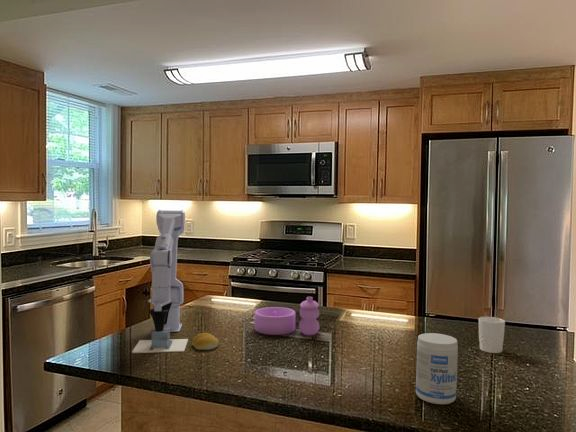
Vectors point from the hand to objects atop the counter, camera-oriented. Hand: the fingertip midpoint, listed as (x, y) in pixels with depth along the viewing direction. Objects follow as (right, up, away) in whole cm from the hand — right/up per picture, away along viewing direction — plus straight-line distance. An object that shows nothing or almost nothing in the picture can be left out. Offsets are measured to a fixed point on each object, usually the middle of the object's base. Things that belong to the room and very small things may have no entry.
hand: (161, 327), depth 146 cm
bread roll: (+14, -7, +1) cm, 16 cm away
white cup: (+108, -8, 0) cm, 108 cm away
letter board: (0, -6, 0) cm, 6 cm away
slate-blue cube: (0, -6, 0) cm, 6 cm away
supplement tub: (+78, -8, -36) cm, 86 cm away
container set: (+41, -6, +20) cm, 46 cm away
